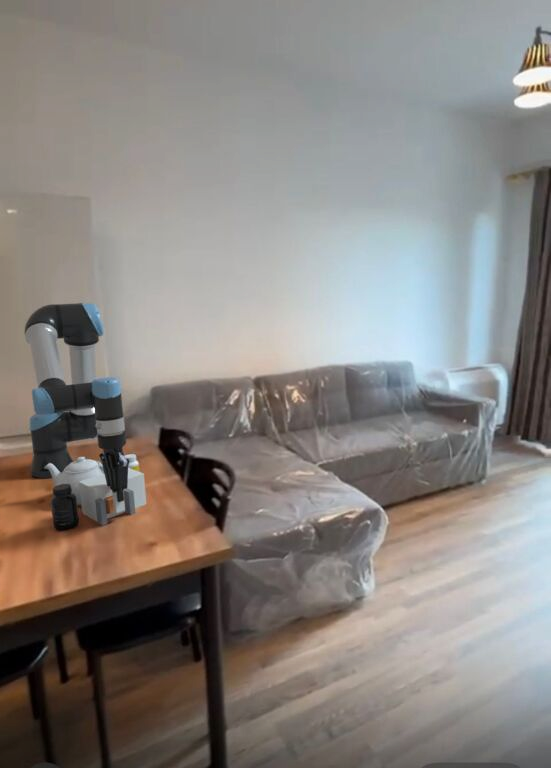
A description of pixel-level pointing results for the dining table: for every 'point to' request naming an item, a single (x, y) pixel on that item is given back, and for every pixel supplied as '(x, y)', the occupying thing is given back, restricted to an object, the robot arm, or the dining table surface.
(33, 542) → the dining table surface
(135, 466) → the supplement bottle
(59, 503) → the supplement bottle
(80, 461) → the teapot
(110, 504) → the block
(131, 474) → the box
